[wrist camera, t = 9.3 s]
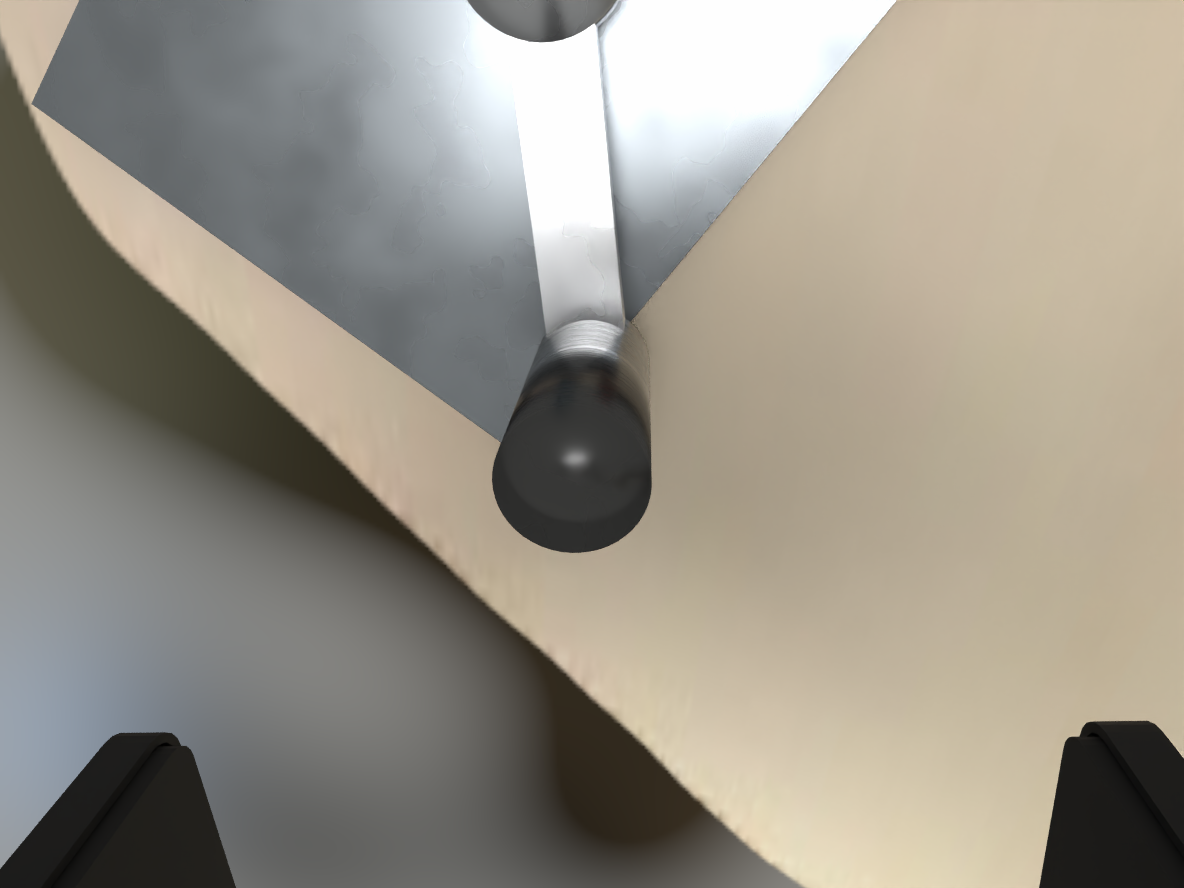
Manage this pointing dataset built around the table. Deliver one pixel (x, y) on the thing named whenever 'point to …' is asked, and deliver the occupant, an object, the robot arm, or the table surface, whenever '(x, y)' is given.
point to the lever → (572, 297)
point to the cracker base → (433, 149)
